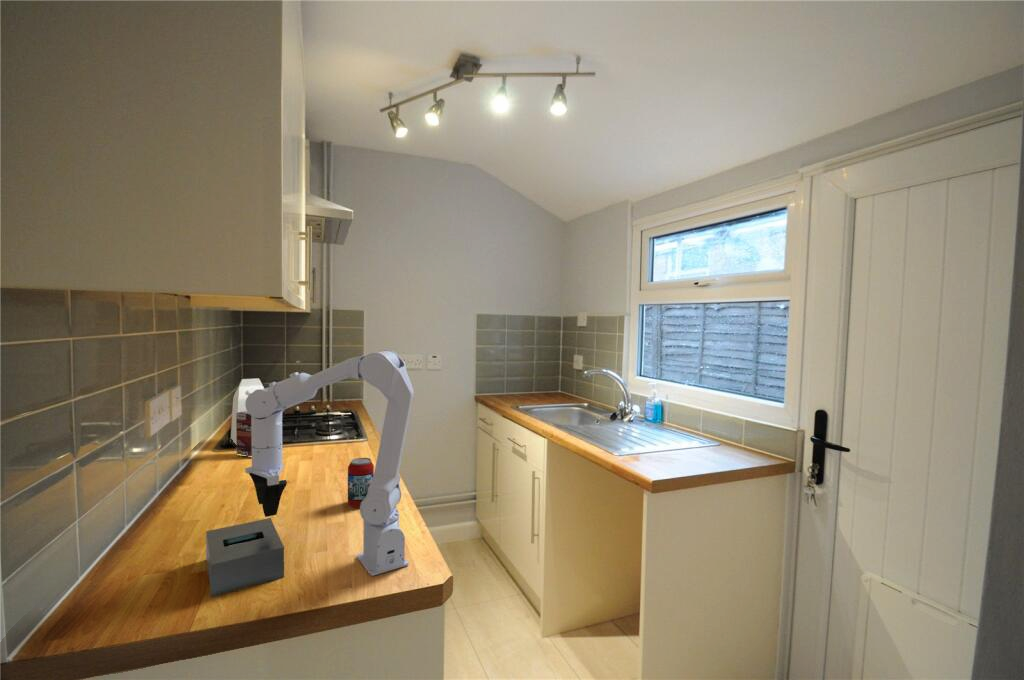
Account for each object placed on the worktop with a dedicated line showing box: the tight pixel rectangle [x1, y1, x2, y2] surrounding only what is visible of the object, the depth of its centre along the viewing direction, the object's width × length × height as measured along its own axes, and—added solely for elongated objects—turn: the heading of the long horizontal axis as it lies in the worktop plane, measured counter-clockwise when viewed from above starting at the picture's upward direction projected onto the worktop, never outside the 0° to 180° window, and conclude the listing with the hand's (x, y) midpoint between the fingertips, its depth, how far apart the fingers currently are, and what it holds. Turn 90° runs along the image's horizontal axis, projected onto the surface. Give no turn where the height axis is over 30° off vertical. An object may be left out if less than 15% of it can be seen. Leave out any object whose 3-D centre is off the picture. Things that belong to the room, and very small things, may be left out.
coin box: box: [205, 517, 285, 598], centre depth 94 cm, size 16×12×6 cm
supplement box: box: [236, 411, 252, 456], centre depth 169 cm, size 9×5×16 cm, turn 73°
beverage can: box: [347, 457, 375, 508], centre depth 128 cm, size 7×7×12 cm
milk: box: [230, 377, 265, 445], centre depth 184 cm, size 12×12×26 cm
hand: (267, 509), depth 98 cm, fingers open, 7 cm apart
